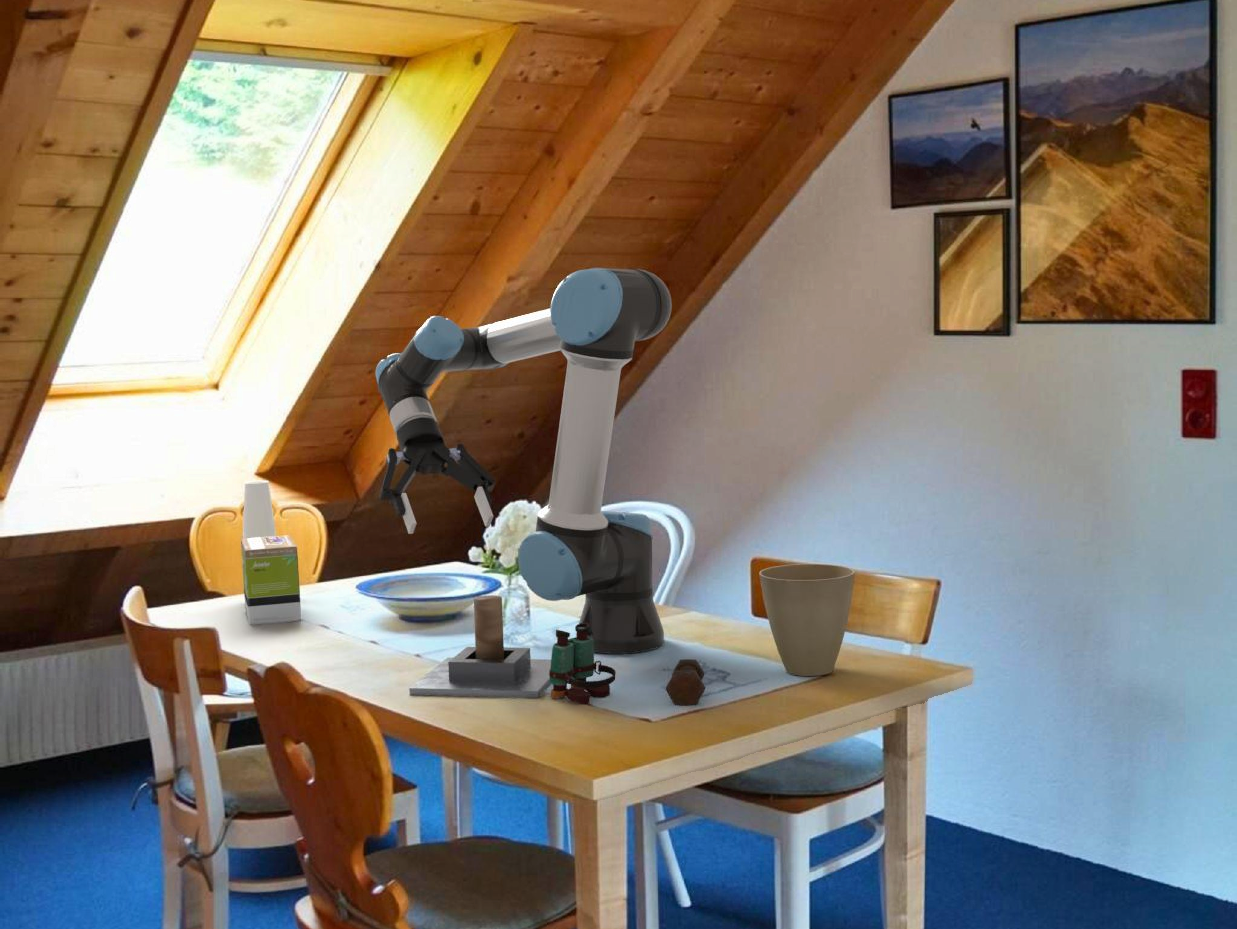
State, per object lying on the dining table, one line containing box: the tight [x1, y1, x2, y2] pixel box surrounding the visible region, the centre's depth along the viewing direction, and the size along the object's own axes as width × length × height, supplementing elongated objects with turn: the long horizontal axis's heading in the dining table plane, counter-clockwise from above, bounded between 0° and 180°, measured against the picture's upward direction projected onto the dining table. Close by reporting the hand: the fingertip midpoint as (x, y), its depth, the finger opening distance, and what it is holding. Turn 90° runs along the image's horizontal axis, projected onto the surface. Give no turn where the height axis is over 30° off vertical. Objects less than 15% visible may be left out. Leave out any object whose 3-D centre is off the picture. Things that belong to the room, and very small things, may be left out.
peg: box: [473, 595, 505, 660], centre depth 231 cm, size 4×4×12 cm
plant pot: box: [758, 563, 856, 677], centre depth 232 cm, size 15×15×16 cm
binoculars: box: [549, 623, 616, 705], centre depth 220 cm, size 9×11×10 cm
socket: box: [408, 646, 552, 699], centre depth 232 cm, size 20×20×4 cm
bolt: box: [665, 658, 706, 707], centre depth 222 cm, size 6×5×15 cm
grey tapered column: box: [242, 480, 277, 539], centre depth 304 cm, size 7×7×24 cm
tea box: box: [240, 534, 302, 626], centre depth 285 cm, size 15×10×15 cm
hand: (451, 525), depth 245 cm, fingers open, 13 cm apart
